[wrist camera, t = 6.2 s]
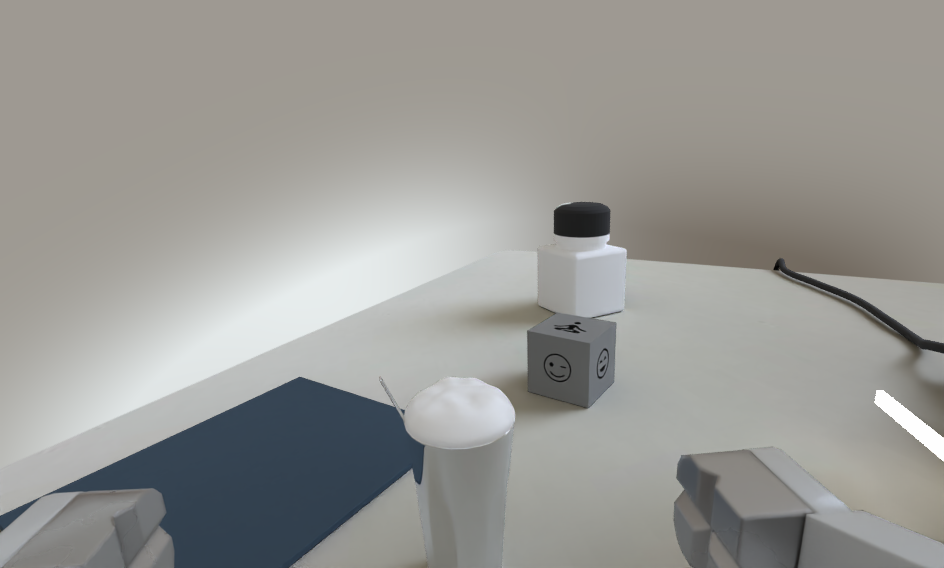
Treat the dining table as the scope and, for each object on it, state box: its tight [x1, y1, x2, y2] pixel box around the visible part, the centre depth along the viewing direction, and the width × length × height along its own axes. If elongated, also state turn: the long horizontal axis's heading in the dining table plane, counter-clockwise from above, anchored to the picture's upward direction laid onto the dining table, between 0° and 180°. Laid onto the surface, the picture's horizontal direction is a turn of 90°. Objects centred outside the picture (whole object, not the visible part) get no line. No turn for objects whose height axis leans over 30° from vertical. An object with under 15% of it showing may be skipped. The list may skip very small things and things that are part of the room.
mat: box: [0, 377, 412, 568], centre depth 32 cm, size 20×16×1 cm
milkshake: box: [379, 376, 515, 568], centre depth 22 cm, size 4×5×10 cm
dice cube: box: [527, 313, 616, 408], centre depth 41 cm, size 5×5×5 cm
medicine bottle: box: [538, 202, 627, 318], centre depth 59 cm, size 7×7×12 cm
